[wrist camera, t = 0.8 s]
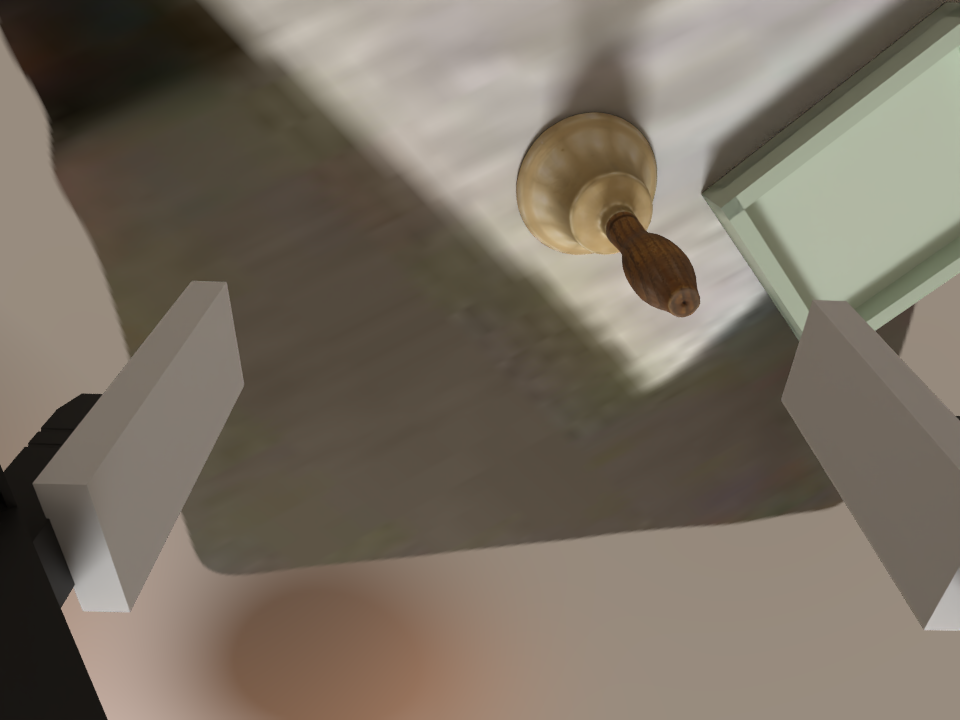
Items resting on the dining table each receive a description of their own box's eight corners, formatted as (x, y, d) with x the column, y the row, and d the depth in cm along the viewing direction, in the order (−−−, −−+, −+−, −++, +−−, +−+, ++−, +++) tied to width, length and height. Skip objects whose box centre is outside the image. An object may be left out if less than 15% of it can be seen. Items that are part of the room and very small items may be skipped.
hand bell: (601, 276, 44) (702, 419, 31) (488, 212, 41) (545, 339, 28) (684, 159, 41) (838, 259, 28) (569, 82, 38) (677, 150, 25)
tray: (946, 1, 39) (984, 4, 36) (1021, 191, 45) (1058, 204, 43) (701, 193, 42) (720, 208, 40) (802, 345, 49) (824, 365, 46)
